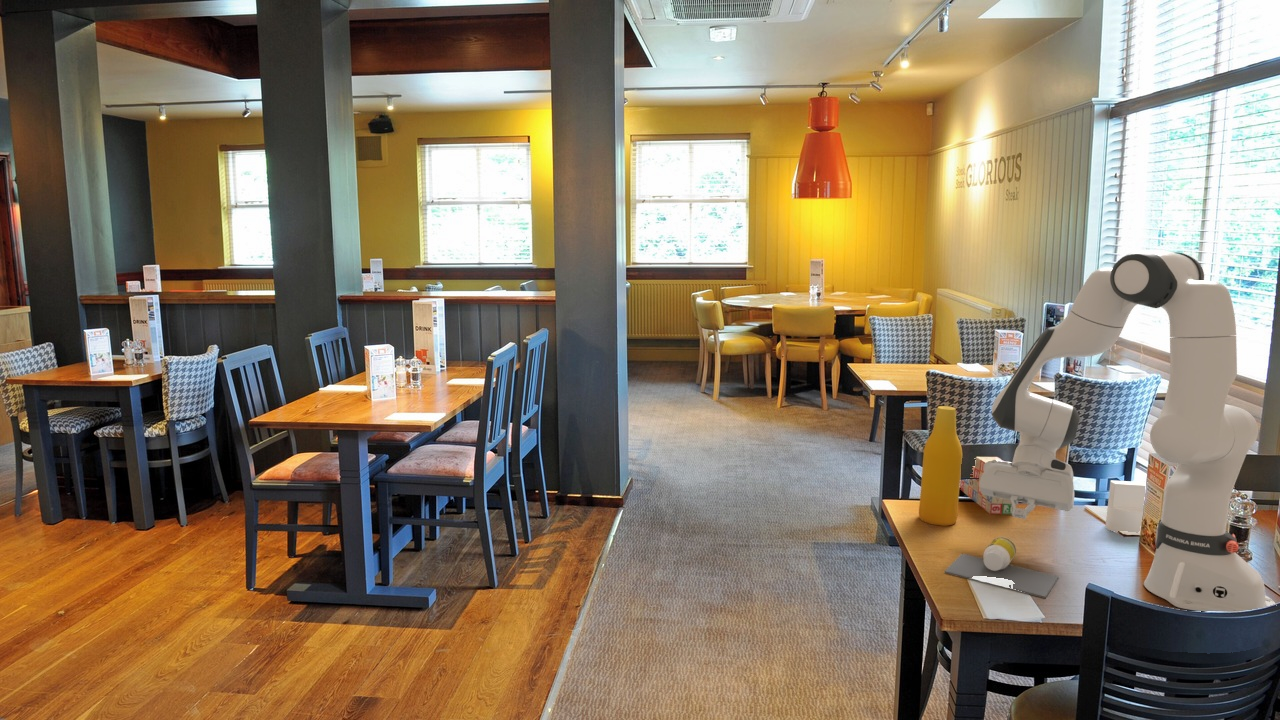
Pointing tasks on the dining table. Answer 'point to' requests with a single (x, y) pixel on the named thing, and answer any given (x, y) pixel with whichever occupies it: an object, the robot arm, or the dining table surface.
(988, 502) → the stack of blocks
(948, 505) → the yellow bottle
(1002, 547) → the supplement bottle
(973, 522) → the dining table surface
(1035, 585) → the charcoal mat
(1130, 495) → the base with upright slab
